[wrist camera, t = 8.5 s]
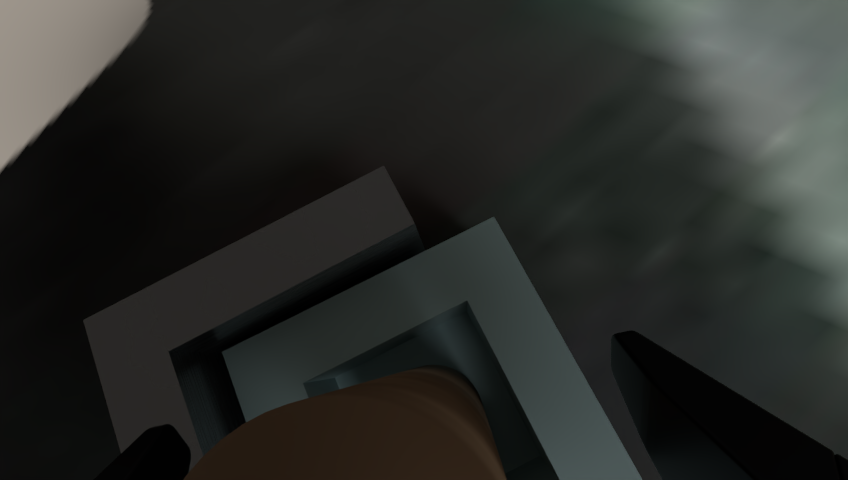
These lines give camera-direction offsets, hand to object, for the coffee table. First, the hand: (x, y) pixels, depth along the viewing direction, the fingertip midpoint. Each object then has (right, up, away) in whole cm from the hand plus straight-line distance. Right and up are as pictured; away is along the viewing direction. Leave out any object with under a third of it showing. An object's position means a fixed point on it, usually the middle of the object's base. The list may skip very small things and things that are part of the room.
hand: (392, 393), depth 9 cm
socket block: (+1, -4, +8) cm, 9 cm away
